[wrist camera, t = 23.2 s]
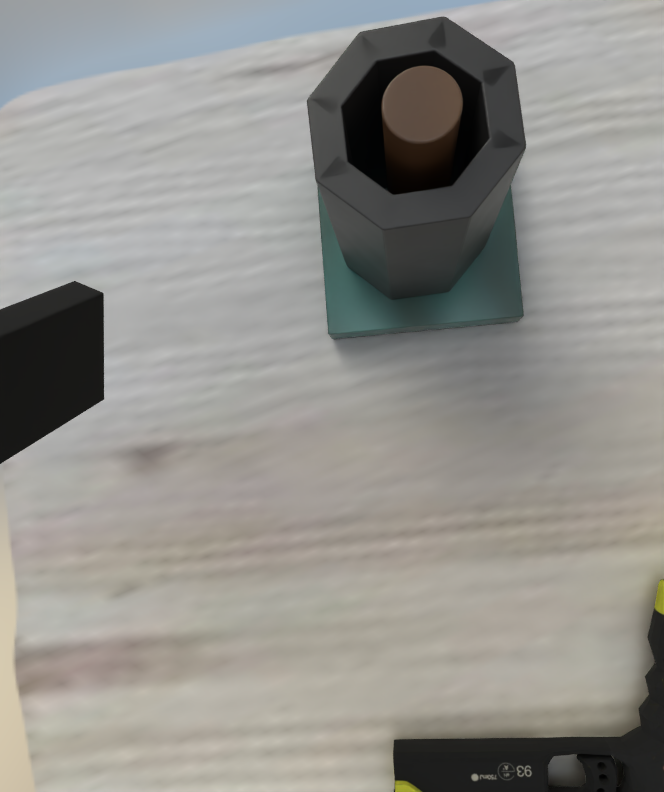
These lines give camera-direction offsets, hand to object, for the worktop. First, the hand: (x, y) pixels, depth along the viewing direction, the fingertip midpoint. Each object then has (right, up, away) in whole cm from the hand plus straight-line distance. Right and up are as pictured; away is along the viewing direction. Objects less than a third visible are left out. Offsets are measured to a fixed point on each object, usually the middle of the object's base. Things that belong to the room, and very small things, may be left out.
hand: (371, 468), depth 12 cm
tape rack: (+4, +10, +22) cm, 24 cm away
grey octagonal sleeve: (+3, +10, +20) cm, 23 cm away
